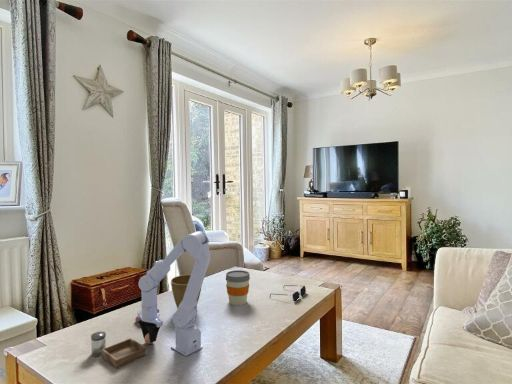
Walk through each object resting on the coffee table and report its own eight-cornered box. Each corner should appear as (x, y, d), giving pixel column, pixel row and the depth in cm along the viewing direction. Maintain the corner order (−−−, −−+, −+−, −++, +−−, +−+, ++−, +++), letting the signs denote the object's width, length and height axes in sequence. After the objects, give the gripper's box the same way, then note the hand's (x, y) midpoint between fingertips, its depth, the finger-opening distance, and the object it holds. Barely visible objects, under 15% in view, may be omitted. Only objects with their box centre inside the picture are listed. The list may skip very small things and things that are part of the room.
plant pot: (164, 314, 151) (164, 281, 150) (185, 304, 164) (185, 273, 163) (189, 321, 144) (188, 286, 143) (208, 309, 157) (208, 277, 157)
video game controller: (139, 328, 141) (143, 315, 139) (133, 321, 143) (137, 308, 141) (157, 320, 149) (162, 308, 146) (152, 313, 151) (156, 302, 149)
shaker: (108, 352, 117) (108, 334, 117) (94, 358, 114) (94, 339, 113) (102, 348, 120) (102, 330, 120) (89, 353, 117) (88, 335, 117)
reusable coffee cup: (251, 298, 172) (251, 270, 172) (248, 307, 160) (248, 277, 159) (228, 297, 174) (228, 269, 173) (223, 306, 161) (223, 276, 161)
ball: (157, 343, 124) (157, 332, 124) (148, 347, 121) (148, 336, 121) (151, 339, 127) (151, 329, 127) (142, 343, 124) (142, 333, 124)
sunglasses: (294, 303, 165) (293, 294, 165) (269, 302, 173) (268, 292, 173) (306, 293, 180) (305, 284, 180) (283, 292, 187) (282, 284, 188)
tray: (146, 355, 116) (146, 347, 116) (116, 368, 107) (116, 360, 107) (130, 345, 123) (130, 337, 123) (101, 357, 114) (101, 349, 114)
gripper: (169, 306, 122) (169, 341, 123) (148, 297, 131) (148, 330, 132) (152, 312, 117) (153, 349, 117) (132, 303, 126) (132, 336, 126)
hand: (149, 339), depth 124 cm, fingers closed on ball, 4 cm apart
